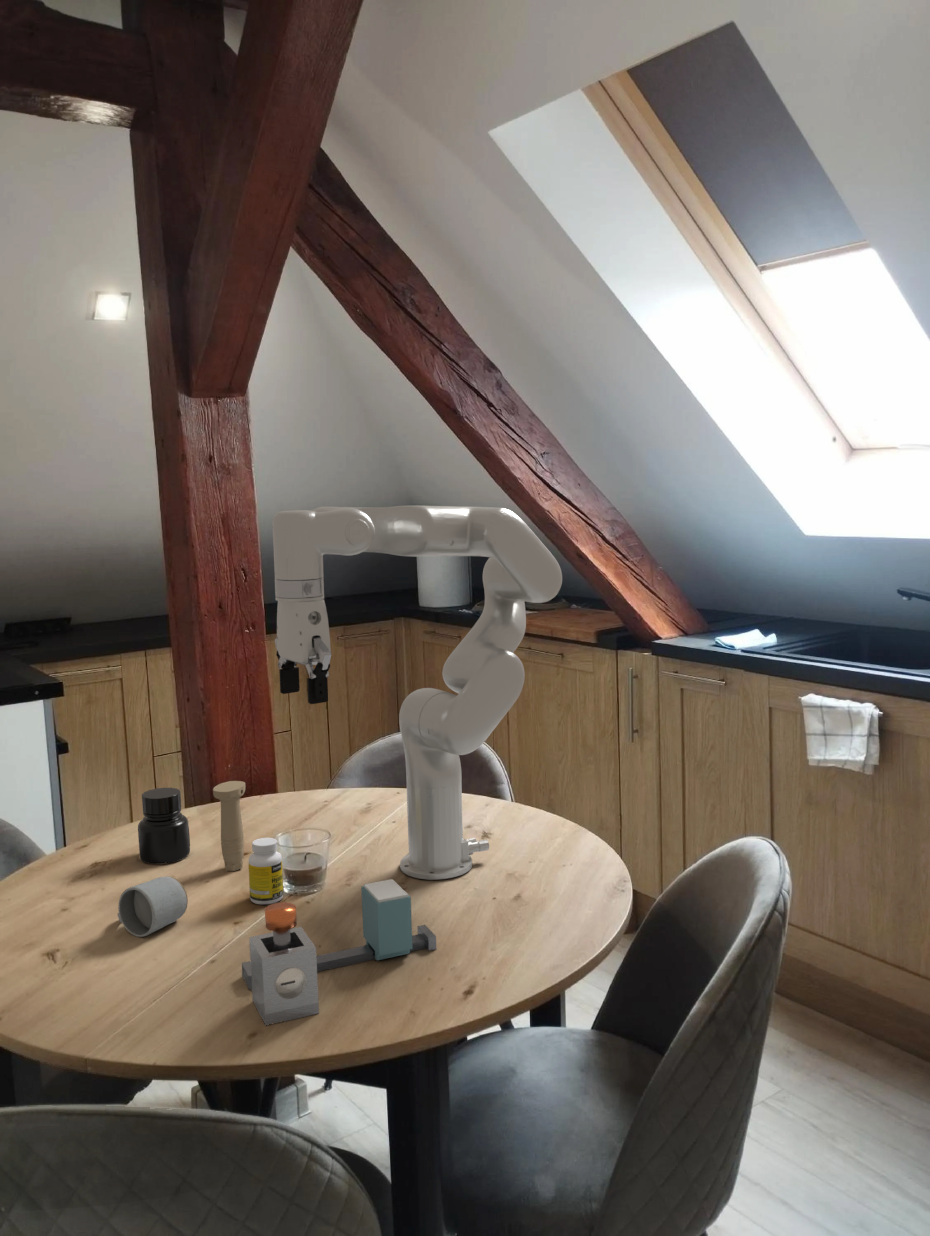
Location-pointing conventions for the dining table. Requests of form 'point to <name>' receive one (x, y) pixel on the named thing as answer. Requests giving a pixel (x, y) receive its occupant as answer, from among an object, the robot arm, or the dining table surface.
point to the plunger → (281, 923)
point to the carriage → (387, 919)
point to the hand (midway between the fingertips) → (303, 697)
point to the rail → (355, 954)
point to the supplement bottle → (265, 872)
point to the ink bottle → (163, 827)
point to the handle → (231, 823)
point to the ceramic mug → (152, 905)
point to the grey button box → (284, 977)
